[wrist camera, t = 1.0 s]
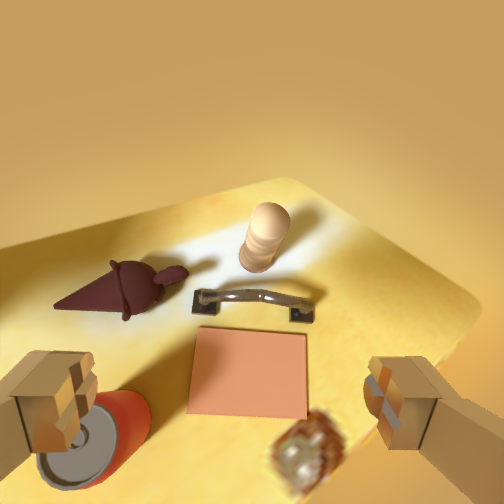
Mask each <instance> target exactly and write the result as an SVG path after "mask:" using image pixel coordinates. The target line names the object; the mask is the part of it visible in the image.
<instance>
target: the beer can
mask: <svg viewBox="0 0 504 504" xmlns="http://www.w3.org/2000/svg"><path fill="white" fill-rule="evenodd" d="M79 421H80V426H81V428H80V430H79V432H78V433H77V435H76V437H75V439H74V441H73V442H72V444H71V446H70V448H69V450H68V451H67V452H54V453H36V458H37V468H38V470H39V472H40V475H41V477H42V479H43V480H44V481H46V482H47V483H48V484H49V485H50V486H51V487H53V488H56V489H59V490H62V491H68V490H78V489H87V488H90V487H92V486H94V485H97V484H99V483H102V482H103V481H104V480H106V479H107V478H108V477H109V476H111V475H112V474H113V473H114V472H115V471H116V470H117V469H118V468H119V467H120V466H121V465H122V464H123V463H124V462H125V461H126V460H127V459H128V458H129V457H130V456H131V455H132V454H133V453H134V452H135V451H136V450H137V449H138V448H139V447H140V446H141V445H142V443H143V442H144V441H145V439H146V437H147V435H148V432H149V430H150V426H151V412H150V407H149V405H148V403H147V401H146V400H145V398H143V397H142V396H141V395H140V394H139V393H137V392H134V391H131V390H118V391H109V392H101V393H97V394H96V397H95V401H94V404H93V406H92V408H91V410H90V412H89V413H88V414H86V415H85V416H84V417H82V418H81V419H80V420H79Z"/></svg>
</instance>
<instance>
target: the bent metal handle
mask: <svg viewBox="0 0 504 504" xmlns="http://www.w3.org/2000/svg"><path fill="white" fill-rule="evenodd" d="M216 302H266V303H271V304H276V305H281V306H286V307H289V322H294V323H306V324H312V323H313V312H312V310H313V309H314V308H315V303H314V302H313V301H312V300H309V299H305V298H300V297H295V296H291V295H286V294H282V293H277V292H272V291H268V290H263V289H244V290H202V291H199V290H195V292H194V299H193V306H192V314H197V315H209V316H215V311H216Z"/></svg>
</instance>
